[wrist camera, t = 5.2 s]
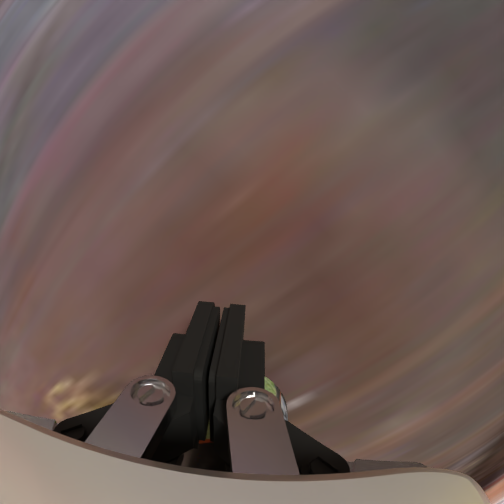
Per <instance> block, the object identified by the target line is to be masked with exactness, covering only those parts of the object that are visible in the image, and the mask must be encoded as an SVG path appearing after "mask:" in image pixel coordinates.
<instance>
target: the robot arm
mask: <svg viewBox="0 0 504 504" xmlns="http://www.w3.org/2000/svg"><path fill="white" fill-rule="evenodd" d="M244 321H245V305H236V304H230V308H225V307H224V310H223V315H222V319H221V323H220V307H215V304H214V303H213V302H202V301H199V302H198V305H197V307H196V310H195V312H194V315H193V317H192V320H191V322H190V325H189V327H188V330H187V333H186V335H185V334H177V333H174V334H173V335H172V337H171V339H170V341H169V344H168V346H167V348H166V350H165V352H164V355H163V357H162V359H161V361H160V364H159V366H158V368H157V370H156V373H155V375H151V376H142V377H138V378H136V379H134V380H133V381H131V382H130V383H129V384H128V385H127V387H126V388H125V389H124V390H123V392H122V393H121V394H120V396H119V397H118V398H117V400H116V401H115V402H114V403H113V404H111V405H108V406H105V407H102V408H99V409H96V410H93V411H90V412H87V413H84V414H81V415H78V416H75V417H72V418H69V419H66V420H64V421H62V422H60V423H59V424H58V423H56V421H55V420H53V419H47V418H41V417H35V416H30V415H25V414H20V413H15V412H11V411H3V410H1V409H0V504H491V502H490V500H489V499H488V497H487V495H486V494H485V492H484V491H483V489H482V488H481V487H480V485H479V484H478V483H477V482H476V481H475V480H474V479H472V478H471V477H470V476H468V475H466V474H464V473H461V472H458V471H454V470H449V469H440V468H431V467H427V466H425V465H423V464H421V463H417V462H393V461H374V460H361V459H356V460H355V461H354V462H347V461H346V460H345V459H344V458H342V457H341V456H340V455H339V454H337V453H335V452H334V451H332V450H331V449H329V448H327V447H326V446H324V445H323V444H321V443H320V442H318V441H316V440H315V439H313V438H312V437H310V436H309V435H307V434H306V433H304V432H303V431H301V430H300V429H298V428H297V427H295V426H294V425H293V424H291V423H290V422H288V421H287V420H285V419H284V416H283V412H282V409H281V405H280V402H279V400H278V398H277V397H276V396H275V395H274V394H273V393H271V392H269V391H267V390H265V350H264V342H260V341H246V340H243V335H244ZM219 327H220V328H219ZM208 424H210V442H214V451H215V452H216V453H217V454H218V455H219V456H220V457H221V458H222V459H223V460H224V461H225V472H222V471H213V470H205V469H197V468H190V467H184V466H181V464H182V462H183V458H184V453H185V452H187V451H189V450H191V449H193V448H194V449H198V445H199V440H201V441H205V440H206V435H207V430H208Z"/></svg>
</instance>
